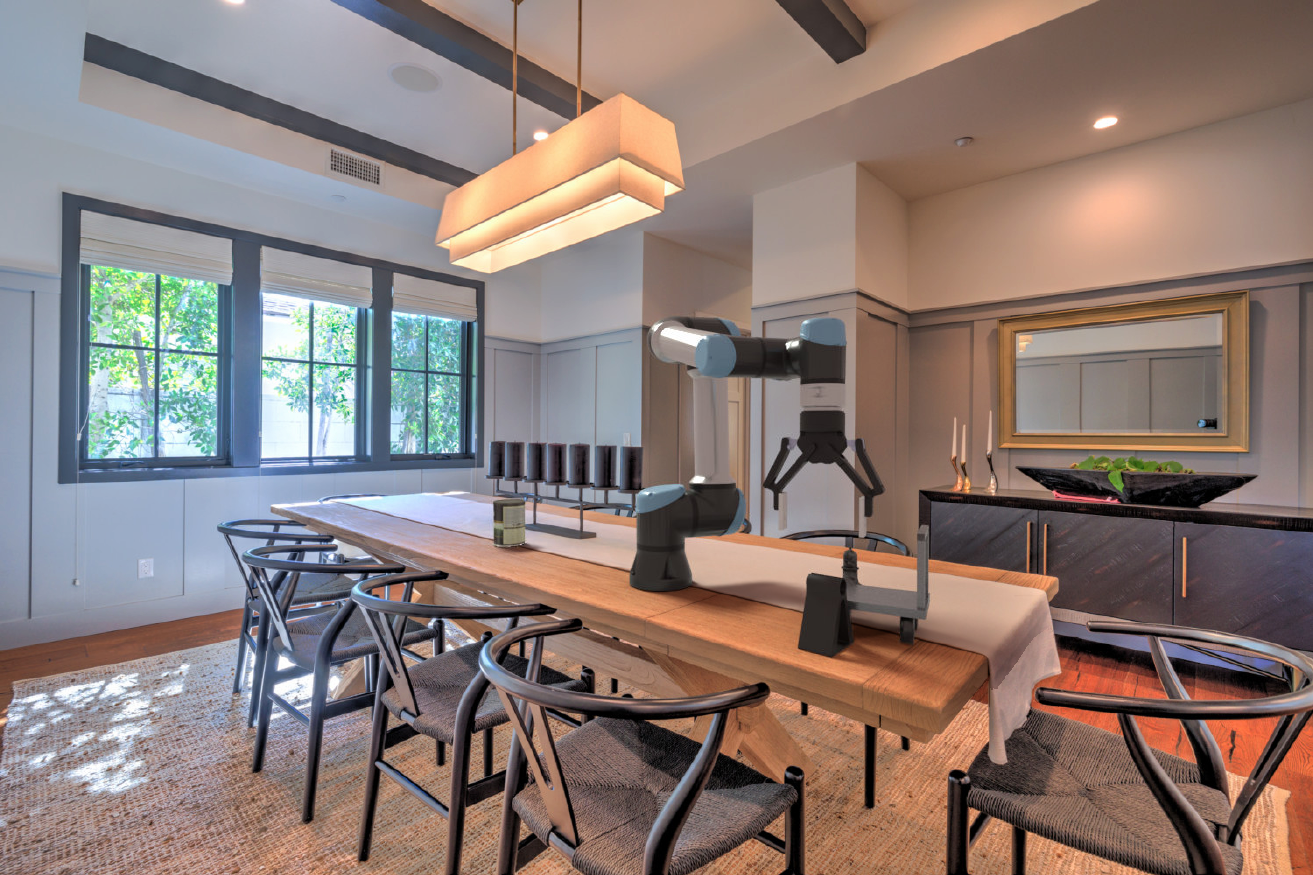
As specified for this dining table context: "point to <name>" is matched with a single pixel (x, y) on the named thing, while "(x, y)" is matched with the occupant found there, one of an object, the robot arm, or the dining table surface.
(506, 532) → the coffee can
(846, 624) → the black a-frame stand
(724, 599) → the dining table surface
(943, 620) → the dining table surface
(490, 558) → the dining table surface
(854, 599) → the trolley
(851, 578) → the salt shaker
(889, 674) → the dining table surface
